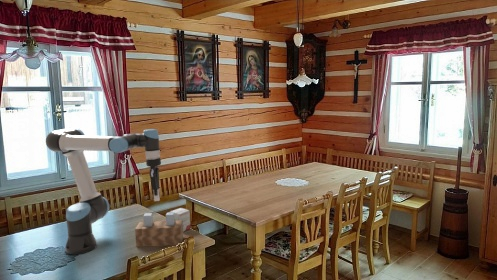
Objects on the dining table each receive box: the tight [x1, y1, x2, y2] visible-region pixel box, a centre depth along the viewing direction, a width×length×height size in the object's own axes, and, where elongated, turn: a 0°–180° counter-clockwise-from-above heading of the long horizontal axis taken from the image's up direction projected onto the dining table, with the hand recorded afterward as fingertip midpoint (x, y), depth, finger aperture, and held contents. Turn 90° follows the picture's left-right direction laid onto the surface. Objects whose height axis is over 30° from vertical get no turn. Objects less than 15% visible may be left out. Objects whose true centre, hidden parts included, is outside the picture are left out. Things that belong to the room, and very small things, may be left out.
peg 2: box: [165, 211, 175, 226], centre depth 193 cm, size 4×4×10 cm
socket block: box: [134, 220, 184, 248], centre depth 193 cm, size 24×10×10 cm, turn 94°
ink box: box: [169, 207, 191, 232], centre depth 210 cm, size 9×9×12 cm
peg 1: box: [143, 212, 154, 227], centre depth 192 cm, size 4×4×10 cm
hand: (157, 200), depth 190 cm, fingers closed
